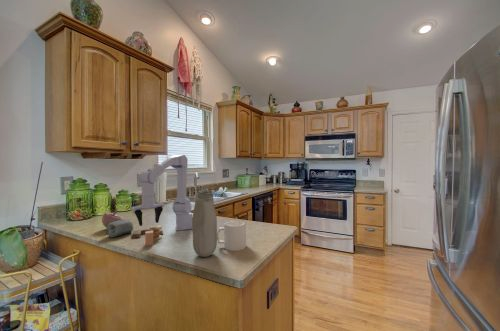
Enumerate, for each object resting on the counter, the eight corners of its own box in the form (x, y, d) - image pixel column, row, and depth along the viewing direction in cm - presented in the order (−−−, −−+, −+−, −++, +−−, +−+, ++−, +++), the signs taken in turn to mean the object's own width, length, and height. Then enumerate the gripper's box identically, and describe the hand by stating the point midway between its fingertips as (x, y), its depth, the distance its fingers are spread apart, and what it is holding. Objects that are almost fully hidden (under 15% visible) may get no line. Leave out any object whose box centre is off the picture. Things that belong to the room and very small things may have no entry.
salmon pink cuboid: (153, 242, 117) (153, 230, 117) (153, 244, 114) (153, 232, 114) (145, 243, 116) (145, 231, 116) (145, 245, 113) (145, 233, 113)
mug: (216, 251, 104) (216, 227, 104) (217, 243, 115) (217, 221, 114) (247, 250, 106) (246, 226, 106) (245, 242, 116) (244, 220, 116)
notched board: (162, 231, 137) (161, 227, 136) (162, 234, 130) (162, 230, 130) (133, 234, 131) (133, 230, 131) (132, 238, 124) (132, 234, 124)
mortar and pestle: (126, 229, 141) (125, 210, 141) (102, 233, 134) (102, 213, 134) (123, 225, 151) (123, 207, 151) (101, 228, 144) (101, 209, 144)
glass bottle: (217, 259, 96) (216, 190, 96) (192, 261, 95) (190, 191, 94) (217, 250, 106) (216, 187, 106) (193, 251, 104) (192, 188, 104)
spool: (111, 234, 121) (111, 215, 125) (102, 240, 125) (103, 221, 130) (137, 234, 131) (136, 216, 136) (128, 239, 136) (128, 222, 140)
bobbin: (161, 235, 128) (161, 224, 127) (162, 239, 122) (161, 227, 122) (149, 237, 125) (149, 226, 125) (149, 240, 120) (149, 229, 120)
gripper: (160, 193, 122) (160, 219, 123) (129, 196, 113) (130, 225, 113) (165, 195, 117) (166, 222, 117) (134, 198, 107) (135, 228, 108)
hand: (149, 223), depth 115 cm, fingers open, 7 cm apart
